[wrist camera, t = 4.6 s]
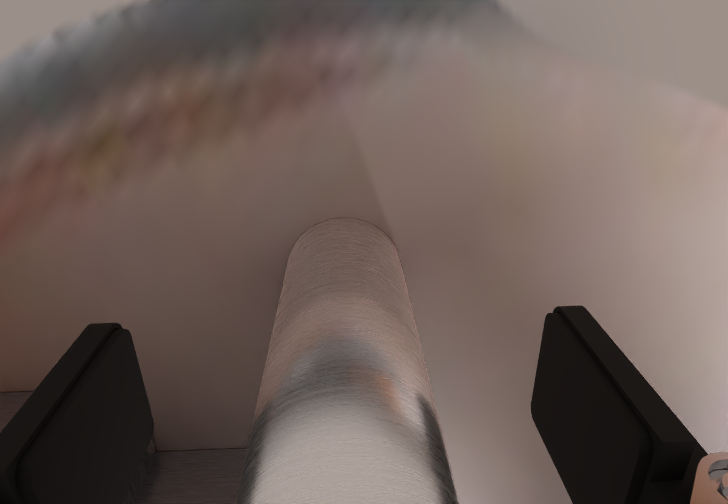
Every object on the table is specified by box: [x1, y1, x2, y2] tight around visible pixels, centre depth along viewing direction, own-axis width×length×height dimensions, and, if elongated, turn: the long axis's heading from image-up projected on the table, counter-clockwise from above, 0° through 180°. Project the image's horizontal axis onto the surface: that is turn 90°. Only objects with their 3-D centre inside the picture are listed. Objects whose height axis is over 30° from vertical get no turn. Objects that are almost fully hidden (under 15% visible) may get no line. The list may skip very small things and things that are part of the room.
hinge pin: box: [235, 218, 459, 504], centre depth 10 cm, size 4×4×12 cm
